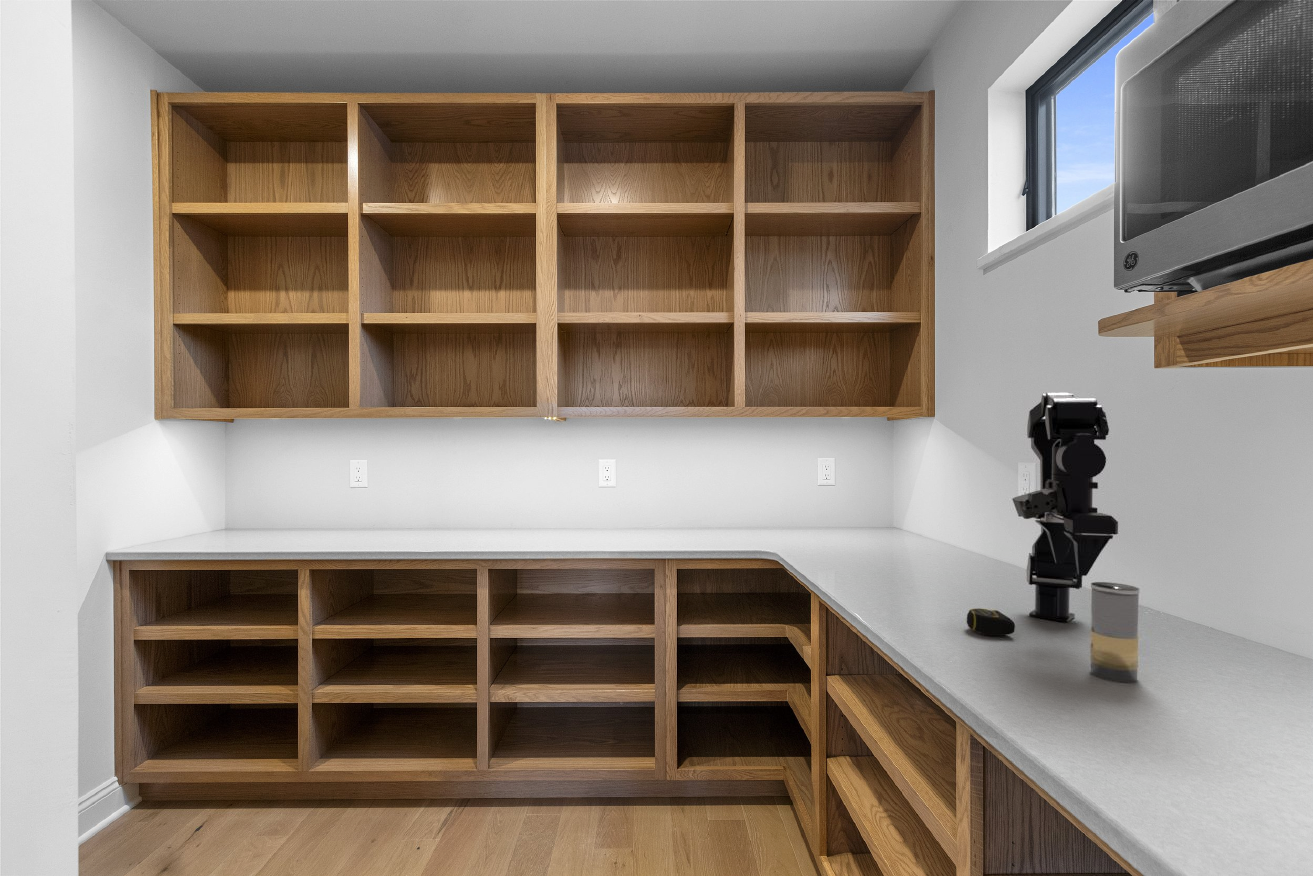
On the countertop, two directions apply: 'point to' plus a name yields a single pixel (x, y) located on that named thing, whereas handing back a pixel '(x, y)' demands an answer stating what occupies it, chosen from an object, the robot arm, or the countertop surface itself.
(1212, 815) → the countertop surface
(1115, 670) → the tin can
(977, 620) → the tape measure
